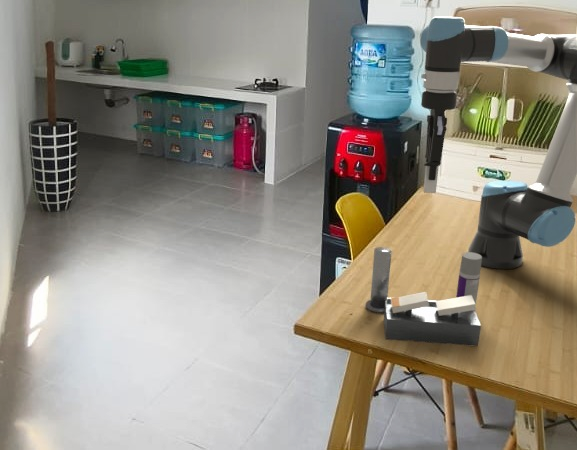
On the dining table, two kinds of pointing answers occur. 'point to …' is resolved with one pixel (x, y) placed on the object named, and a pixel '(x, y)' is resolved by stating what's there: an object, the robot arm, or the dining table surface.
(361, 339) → the dining table surface
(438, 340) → the grey channel rail
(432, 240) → the dining table surface
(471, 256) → the container
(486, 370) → the dining table surface
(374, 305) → the post
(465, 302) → the paddle
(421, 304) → the paddle
